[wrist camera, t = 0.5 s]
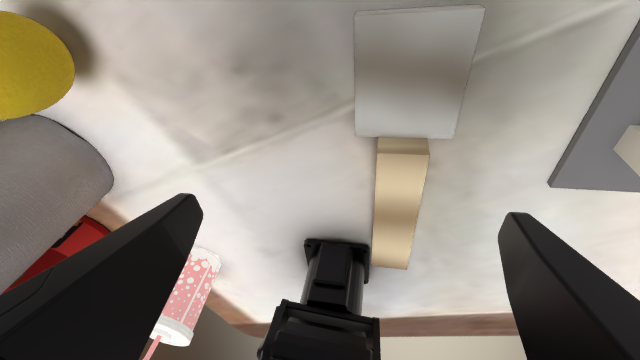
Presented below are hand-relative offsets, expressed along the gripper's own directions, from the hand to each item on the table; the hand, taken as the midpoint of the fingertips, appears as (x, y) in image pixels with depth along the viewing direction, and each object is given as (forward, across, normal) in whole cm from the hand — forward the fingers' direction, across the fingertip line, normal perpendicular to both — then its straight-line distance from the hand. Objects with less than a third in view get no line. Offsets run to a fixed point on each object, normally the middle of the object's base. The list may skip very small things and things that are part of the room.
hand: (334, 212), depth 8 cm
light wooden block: (+12, -3, +6) cm, 14 cm away
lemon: (+12, +20, -3) cm, 24 cm away
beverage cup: (+13, +20, +22) cm, 32 cm away
